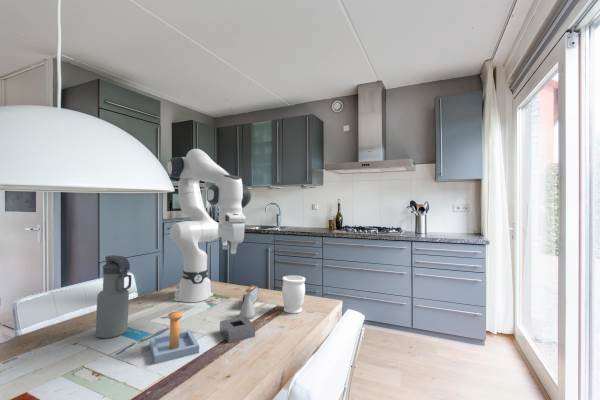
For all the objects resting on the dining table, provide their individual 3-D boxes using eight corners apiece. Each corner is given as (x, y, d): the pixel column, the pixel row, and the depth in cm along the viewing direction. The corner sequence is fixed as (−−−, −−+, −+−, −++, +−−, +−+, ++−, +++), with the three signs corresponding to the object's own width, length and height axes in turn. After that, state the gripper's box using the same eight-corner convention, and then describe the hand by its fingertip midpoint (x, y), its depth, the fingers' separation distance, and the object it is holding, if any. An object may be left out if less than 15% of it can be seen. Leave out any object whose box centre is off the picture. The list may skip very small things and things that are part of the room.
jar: (306, 307, 138) (307, 276, 138) (302, 315, 128) (303, 281, 128) (284, 305, 140) (285, 274, 140) (279, 313, 129) (280, 279, 130)
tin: (253, 299, 147) (253, 282, 147) (259, 299, 146) (259, 283, 146) (241, 310, 132) (242, 291, 132) (247, 310, 132) (248, 292, 132)
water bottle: (134, 329, 109) (137, 255, 110) (111, 341, 100) (114, 260, 100) (113, 325, 112) (115, 253, 112) (88, 336, 103) (91, 257, 103)
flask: (252, 320, 121) (252, 296, 121) (235, 318, 123) (236, 294, 123) (257, 313, 128) (258, 291, 128) (242, 312, 130) (243, 289, 130)
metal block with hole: (219, 331, 110) (219, 321, 110) (244, 326, 115) (244, 316, 115) (228, 343, 101) (229, 331, 101) (254, 336, 107) (255, 325, 107)
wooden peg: (166, 345, 97) (167, 312, 97) (179, 342, 99) (180, 310, 99) (168, 351, 93) (169, 317, 93) (182, 348, 96) (183, 315, 96)
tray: (149, 345, 98) (149, 338, 98) (189, 336, 105) (190, 329, 105) (154, 364, 87) (155, 356, 87) (199, 352, 94) (199, 345, 94)
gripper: (214, 214, 121) (213, 247, 121) (231, 218, 103) (229, 256, 103) (229, 214, 124) (228, 246, 124) (247, 218, 107) (246, 255, 107)
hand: (228, 251), depth 114 cm, fingers open, 8 cm apart
